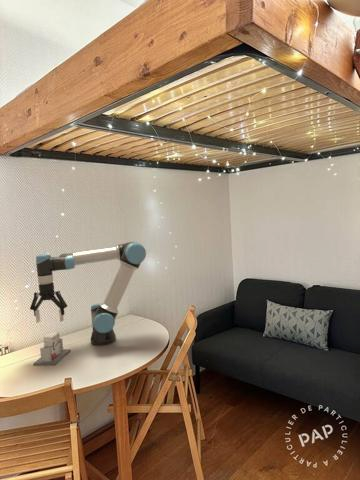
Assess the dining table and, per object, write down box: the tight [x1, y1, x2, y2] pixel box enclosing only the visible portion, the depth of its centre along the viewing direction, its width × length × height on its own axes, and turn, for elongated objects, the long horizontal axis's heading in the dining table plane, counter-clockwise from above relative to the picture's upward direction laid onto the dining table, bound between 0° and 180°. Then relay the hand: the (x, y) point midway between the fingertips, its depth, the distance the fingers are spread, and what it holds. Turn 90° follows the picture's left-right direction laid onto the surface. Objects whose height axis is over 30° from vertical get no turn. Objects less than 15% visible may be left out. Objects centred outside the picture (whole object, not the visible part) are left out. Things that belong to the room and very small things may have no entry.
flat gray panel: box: [32, 337, 72, 366], centre depth 180 cm, size 12×18×9 cm, turn 173°
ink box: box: [43, 331, 61, 359], centre depth 180 cm, size 9×5×12 cm, turn 171°
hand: (50, 321), depth 180 cm, fingers open, 13 cm apart
